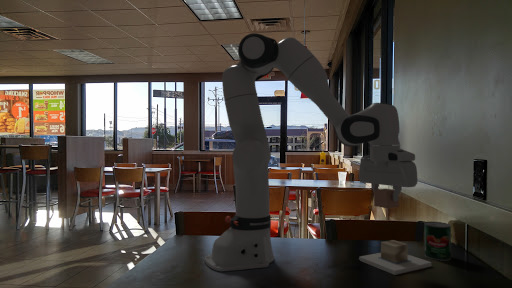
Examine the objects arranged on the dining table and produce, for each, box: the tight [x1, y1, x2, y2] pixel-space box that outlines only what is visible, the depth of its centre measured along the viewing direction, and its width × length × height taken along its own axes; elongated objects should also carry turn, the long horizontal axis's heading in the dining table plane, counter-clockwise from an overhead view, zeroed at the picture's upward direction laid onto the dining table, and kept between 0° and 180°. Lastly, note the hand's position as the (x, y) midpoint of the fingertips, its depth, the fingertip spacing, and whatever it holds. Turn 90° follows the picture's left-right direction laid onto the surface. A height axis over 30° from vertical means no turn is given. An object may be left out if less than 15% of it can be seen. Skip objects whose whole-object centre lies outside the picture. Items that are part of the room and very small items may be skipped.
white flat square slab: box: [358, 252, 433, 276], centre depth 107 cm, size 16×14×1 cm
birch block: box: [380, 239, 409, 263], centre depth 107 cm, size 6×6×5 cm
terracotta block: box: [373, 188, 400, 209], centre depth 105 cm, size 5×5×5 cm
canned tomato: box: [423, 220, 452, 262], centre depth 113 cm, size 8×8×11 cm
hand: (386, 199), depth 105 cm, fingers closed on terracotta block, 5 cm apart
